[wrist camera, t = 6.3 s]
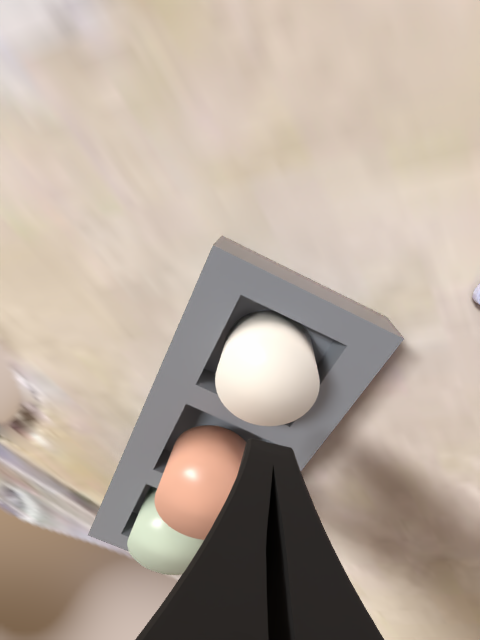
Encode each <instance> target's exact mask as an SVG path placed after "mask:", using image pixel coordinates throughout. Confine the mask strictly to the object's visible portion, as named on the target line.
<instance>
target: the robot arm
mask: <svg viewBox="0 0 480 640" xmlns="http://www.w3.org/2000/svg"><path fill="white" fill-rule="evenodd" d="M473 300H474V301H475V302H476V303H478V304H479V305H480V284H479V285H478V286H477V288H476V289H475V290H474V292H473ZM136 640H384V638H383V637H382V635H381V634H380V632H379V630H378V629H377V627H376V625H375V624H374V622H373V620H372V618H371V617H370V615H369V613H368V612H367V610H366V608H365V607H364V605H363V603H362V601H361V600H360V598H359V596H358V594H357V593H356V591H355V589H354V587H353V585H352V584H351V582H350V580H349V578H348V576H347V574H346V572H345V570H344V568H343V567H342V565H341V563H340V561H339V559H338V557H337V555H336V553H335V551H334V549H333V547H332V544H331V542H330V540H329V538H328V536H327V534H326V532H325V530H324V528H323V525H322V523H321V521H320V518H319V516H318V514H317V511H316V509H315V507H314V505H313V502H312V500H311V497H310V495H309V492H308V490H307V487H306V485H305V482H304V479H303V477H302V474H301V471H300V468H299V466H298V463H297V460H296V457H295V453H294V451H293V449H292V448H291V447H286V446H282V445H278V444H273V443H269V442H265V441H261V440H256V439H252V438H251V439H249V440H247V442H246V445H245V449H244V453H243V456H242V460H241V464H240V467H239V471H238V474H237V477H236V480H235V482H234V484H233V486H232V489H231V491H230V493H229V495H228V497H227V499H226V501H225V503H224V505H223V507H222V509H221V511H220V513H219V515H218V516H217V518H216V520H215V522H214V524H213V526H212V528H211V529H210V531H209V533H208V534H207V536H206V538H205V540H204V541H203V543H202V545H201V546H200V548H199V549H198V551H197V553H196V554H195V556H194V557H193V559H192V561H191V562H190V564H189V565H188V567H187V568H186V570H185V571H184V573H183V574H182V576H181V577H180V579H179V580H178V582H177V583H176V585H175V586H174V588H173V589H172V591H171V592H170V593H169V595H168V596H167V598H166V599H165V601H164V602H163V603H162V605H161V606H160V608H159V609H158V610H157V612H156V613H155V614H154V616H153V617H152V618H151V620H150V621H149V622H148V624H147V625H146V626H145V628H144V629H143V630H142V632H141V633H140V634H139V636H138V637H137V638H136Z"/></svg>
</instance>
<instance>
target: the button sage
mask: <svg viewBox="0 0 480 640" xmlns="http://www.w3.org/2000/svg"><path fill="white" fill-rule="evenodd" d="M156 491H157V488H155V487H151V488H150V489H149V490H148V492H147V494H146V497H145V499H144V501H143V504H142V506H141V509H140V511H139V514H138V516H137V518H136V521H135V523H134V526H133V528H132V531H131V533H130V535H129V538H128V541H127V546H128V550H129V552H130V554H131V556H132V557H133V558H134V559H135V560H136V561H137V562H138V563H139V564H141V565H142V566H144V567H146V568H147V569H150V570H152V571H155V572H157V573H161V574H167V575H180V574H183V573H184V571H185V570H186V568H187V567H188V565H189V564H190V562H191V561H192V559H193V557H194V556H195V554H196V553H197V551H198V549H199V548H200V546H201V545H202V543H203V541H204V540H202V539H196V538H192V537H189V536H186V535H183V534H181V533H179V532H177V531H175V530H174V529H172V528H171V527H169V526H168V525H167V524H166V523H165V522H164V521H163V520H162V519H161V517H160V516H159V514H158V512H157V510H156V507H155V493H156Z"/></svg>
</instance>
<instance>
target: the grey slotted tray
mask: <svg viewBox="0 0 480 640" xmlns="http://www.w3.org/2000/svg"><path fill="white" fill-rule="evenodd" d="M265 310H271V311H276V312H278V313H280V314H282V315H284V316H286V317H288V318H290V319H292V320H294V321H297V322H299V323H301V324H302V325H303V326H304V327H305V329H306V330H307V332H308V334H309V336H310V338H311V342H312V346H313V351H314V355H315V360H316V365H317V369H318V374H319V380H320V387H319V393H318V396H317V399H316V401H315V403H314V404H313V406H312V407H311V408H310V410H309V411H308V412H306V413H305V414H304V415H303V416H301V417H300V418H298V419H297V420H295V421H293V422H290V423H287V424H283V425H278V426H260V425H255V424H251V423H248V422H246V421H243V420H241V419H240V418H238V417H236V416H235V415H233V414H232V413H231V412H230V411H229V410H228V409H227V408H226V407H225V406H224V405H223V403H222V402H221V400H220V398H219V396H218V393H217V390H216V386H215V376H216V371H217V367H218V364H219V361H220V358H221V354H222V351H223V348H224V345H225V342H226V338H227V336H228V333H229V331H230V330H231V328H232V327H233V326H234V324H235V323H236V322H238V321H239V320H240V319H241V318H243V317H245V316H246V315H248V314H251V313H254V312H258V311H265ZM403 340H404V338H403V337H402V335H401V334H400V333H399V332H398V330H397V329H396V328H395V327H394V325H393V324H392V323H391V322H390V320H389V319H388V318H387V317H385V316H383V315H381V314H379V313H377V312H375V311H373V310H371V309H369V308H367V307H365V306H363V305H361V304H359V303H357V302H355V301H353V300H351V299H349V298H347V297H345V296H343V295H341V294H339V293H337V292H335V291H333V290H331V289H329V288H327V287H325V286H323V285H321V284H319V283H317V282H315V281H313V280H311V279H309V278H307V277H304V276H302V275H300V274H298V273H296V272H294V271H292V270H290V269H288V268H286V267H284V266H282V265H280V264H278V263H276V262H274V261H272V260H270V259H268V258H266V257H264V256H262V255H260V254H258V253H256V252H254V251H252V250H250V249H248V248H246V247H244V246H242V245H240V244H238V243H236V242H234V241H232V240H230V239H228V238H226V237H224V236H221V237H220V238H219V239H218V241H217V242H216V243H215V244H214V245H213V247H212V249H211V251H210V253H209V256H208V258H207V260H206V263H205V265H204V267H203V270H202V272H201V274H200V277H199V279H198V281H197V284H196V286H195V288H194V291H193V293H192V295H191V298H190V300H189V302H188V304H187V307H186V309H185V311H184V314H183V316H182V318H181V321H180V323H179V325H178V328H177V330H176V332H175V335H174V337H173V339H172V342H171V344H170V346H169V348H168V351H167V353H166V355H165V358H164V360H163V362H162V365H161V367H160V369H159V372H158V374H157V376H156V379H155V381H154V383H153V386H152V388H151V390H150V393H149V395H148V397H147V399H146V402H145V404H144V406H143V409H142V411H141V413H140V416H139V418H138V420H137V423H136V425H135V427H134V430H133V432H132V434H131V437H130V439H129V441H128V444H127V446H126V448H125V450H124V453H123V455H122V457H121V460H120V462H119V464H118V467H117V469H116V471H115V474H114V476H113V478H112V481H111V483H110V485H109V488H108V490H107V492H106V494H105V497H104V499H103V501H102V504H101V506H100V508H99V511H98V513H97V515H96V518H95V520H94V522H93V525H92V527H91V529H90V532H89V534H88V535H89V536H91V537H94V538H96V539H99V540H101V541H104V542H106V543H109V544H111V545H114V546H117V547H119V548H122V549H124V550H127V551H129V550H128V546H127V541H128V538H129V535H130V533H131V531H132V528H133V526H134V523H135V521H136V518H137V516H138V514H139V511H140V509H141V506H142V504H143V501H144V499H145V497H146V494H147V492H148V490H149V489H150V488H151V487H155V488H158V486H159V483H160V480H161V478H162V475H163V473H164V470H165V467H166V465H167V462H168V460H169V457H170V454H171V452H172V449H173V447H174V444H175V442H176V440H177V438H178V437H179V436H180V435H181V434H182V433H183V432H185V431H187V430H188V429H191V428H193V427H197V426H203V425H213V426H219V427H223V428H226V429H229V430H231V431H233V432H235V433H236V434H238V435H239V436H240V437H242V438H243V439H244V440H245V441H246V442H247V440H249V439H251V438H252V439H256V440H261V441H265V442H269V443H273V444H278V445H282V446H286V447H291V448H292V449H293V451H294V453H295V457H296V460H297V463H298V466H299V468H300V471H302V469H303V468H304V467H305V465H306V464H307V463H308V462H309V460H310V459H311V458H312V457H313V455H314V454H315V453H316V451H317V450H318V449H319V448H320V446H321V445H322V444H323V442H324V441H325V440H326V439H327V437H328V436H329V435H330V433H331V432H332V431H333V430H334V428H335V427H336V426H337V424H338V423H339V422H340V421H341V419H342V418H343V417H344V415H345V414H346V413H347V412H348V410H349V409H350V408H351V406H352V405H353V404H354V403H355V401H356V400H357V399H358V397H359V396H360V395H361V394H362V392H363V391H364V390H365V389H366V387H367V386H368V385H369V383H370V382H371V381H372V380H373V378H374V377H375V376H376V374H377V373H378V372H379V371H380V369H381V368H382V367H383V365H384V364H385V363H386V362H387V360H388V359H389V358H390V356H391V355H392V354H393V353H394V351H395V350H396V349H397V347H398V346H399V345H400V344H401V342H402V341H403Z"/></svg>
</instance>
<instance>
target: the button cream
mask: <svg viewBox="0 0 480 640" xmlns="http://www.w3.org/2000/svg"><path fill="white" fill-rule="evenodd" d="M215 386H216V390H217V393H218V396H219V398H220V400H221V402H222V403H223V405H224V406H225V407H226V408H227V409H228V410H229V411H230V412H231V413H232V414H233V415H235V416H236V417H238V418H240V419H241V420H243V421H246V422H248V423H251V424H255V425H260V426H278V425H283V424H287V423H290V422H293V421H295V420H297V419H298V418H300V417H301V416H303V415H304V414H305V413H306V412H308V411H309V410H310V408H311V407H312V406H313V404H314V403H315V401H316V399H317V396H318V393H319V387H320V380H319V374H318V369H317V365H316V360H315V355H314V351H313V346H312V342H311V338H310V336H309V334H308V332H307V330H306V329H305V327H304V326H303V325H302V324H301V323H299V322H297V321H294V320H292V319H290V318H288V317H286V316H284V315H282V314H280V313H278V312H276V311H271V310H265V311H258V312H254V313H251V314H248V315H246V316H245V317H243V318H241V319H240V320H239V321H238V322H236V323H235V324H234V326H233V327H232V328H231V330H230V331H229V333H228V336H227V338H226V342H225V345H224V348H223V351H222V354H221V358H220V361H219V364H218V367H217V371H216V376H215Z"/></svg>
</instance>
